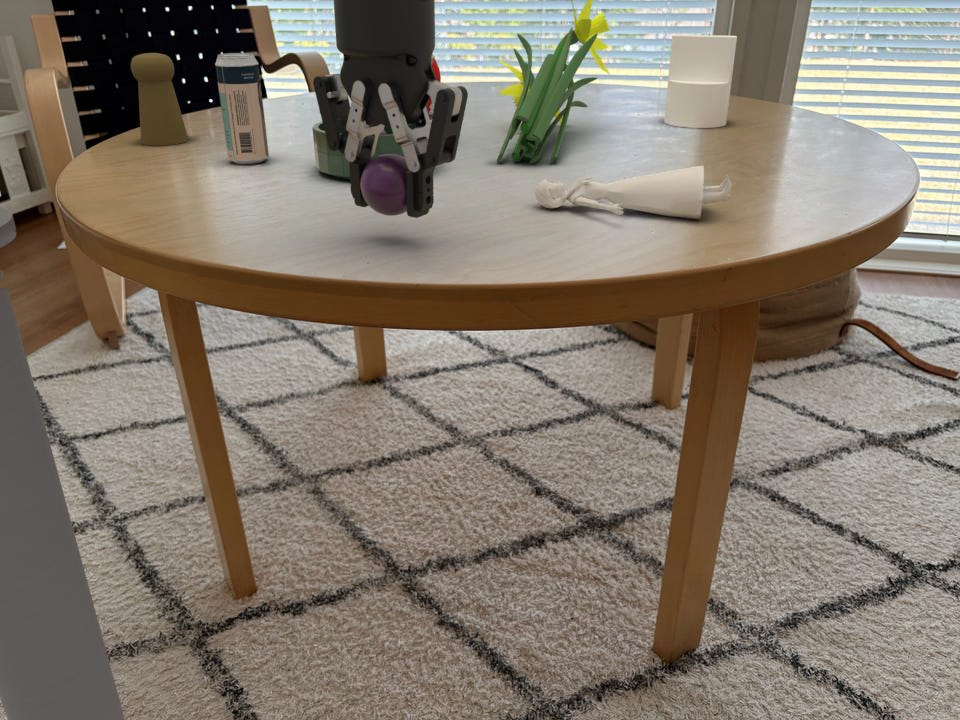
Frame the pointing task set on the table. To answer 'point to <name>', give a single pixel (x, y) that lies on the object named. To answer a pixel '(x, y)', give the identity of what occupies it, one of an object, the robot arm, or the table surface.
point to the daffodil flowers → (551, 87)
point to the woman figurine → (641, 193)
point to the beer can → (242, 107)
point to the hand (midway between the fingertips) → (392, 209)
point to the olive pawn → (158, 100)
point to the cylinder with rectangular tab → (699, 80)
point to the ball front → (385, 184)
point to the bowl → (337, 161)
